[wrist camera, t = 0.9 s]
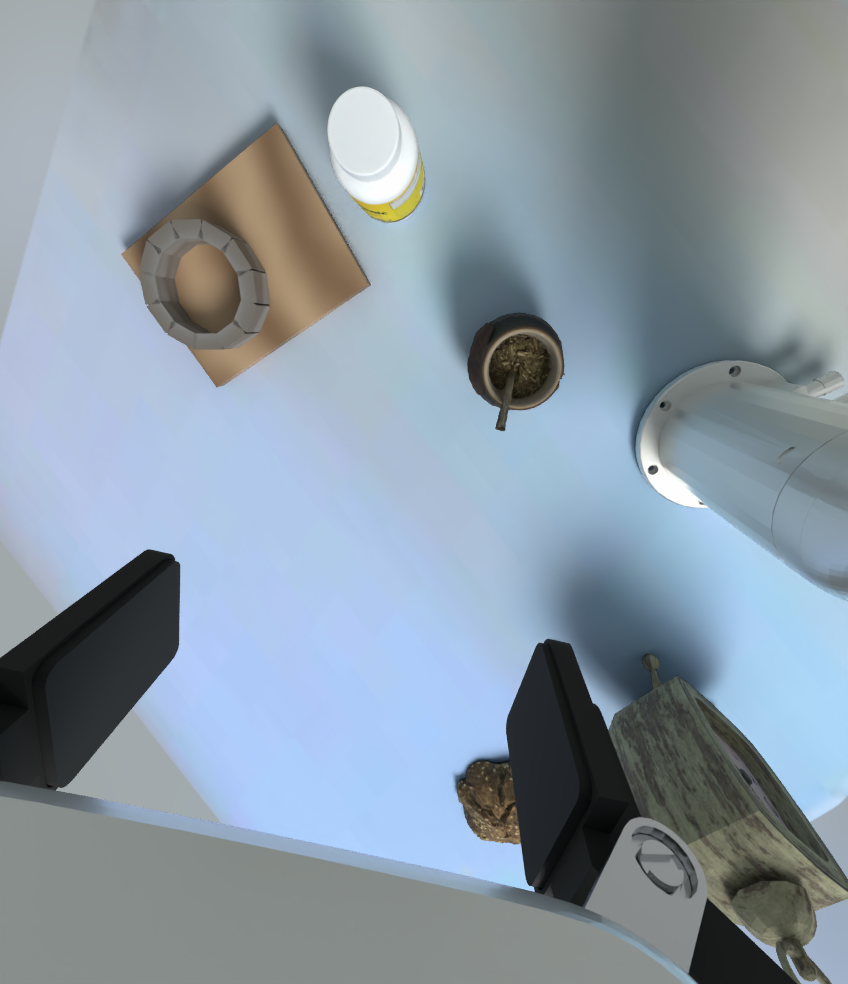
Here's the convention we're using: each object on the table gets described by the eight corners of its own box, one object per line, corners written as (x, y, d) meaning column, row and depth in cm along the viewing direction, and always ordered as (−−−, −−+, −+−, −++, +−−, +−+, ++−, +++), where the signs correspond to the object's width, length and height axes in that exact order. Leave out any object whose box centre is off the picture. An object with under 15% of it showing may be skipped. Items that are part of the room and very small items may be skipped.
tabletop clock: (733, 713, 48) (990, 1081, 25) (664, 753, 51) (835, 1115, 28) (649, 636, 45) (850, 968, 22) (581, 682, 48) (693, 1018, 25)
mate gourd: (566, 322, 35) (604, 324, 26) (539, 413, 38) (564, 444, 29) (479, 303, 35) (486, 299, 26) (458, 396, 38) (457, 422, 29)
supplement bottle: (340, 184, 33) (293, 130, 24) (389, 120, 31) (360, 37, 22) (390, 242, 34) (365, 212, 25) (441, 183, 32) (433, 128, 23)
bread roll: (564, 816, 56) (573, 860, 52) (473, 829, 59) (474, 872, 54) (539, 746, 52) (547, 787, 48) (442, 764, 55) (440, 804, 50)
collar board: (282, 129, 32) (261, 106, 29) (370, 284, 35) (361, 280, 32) (131, 256, 36) (96, 249, 32) (223, 385, 39) (200, 391, 36)
